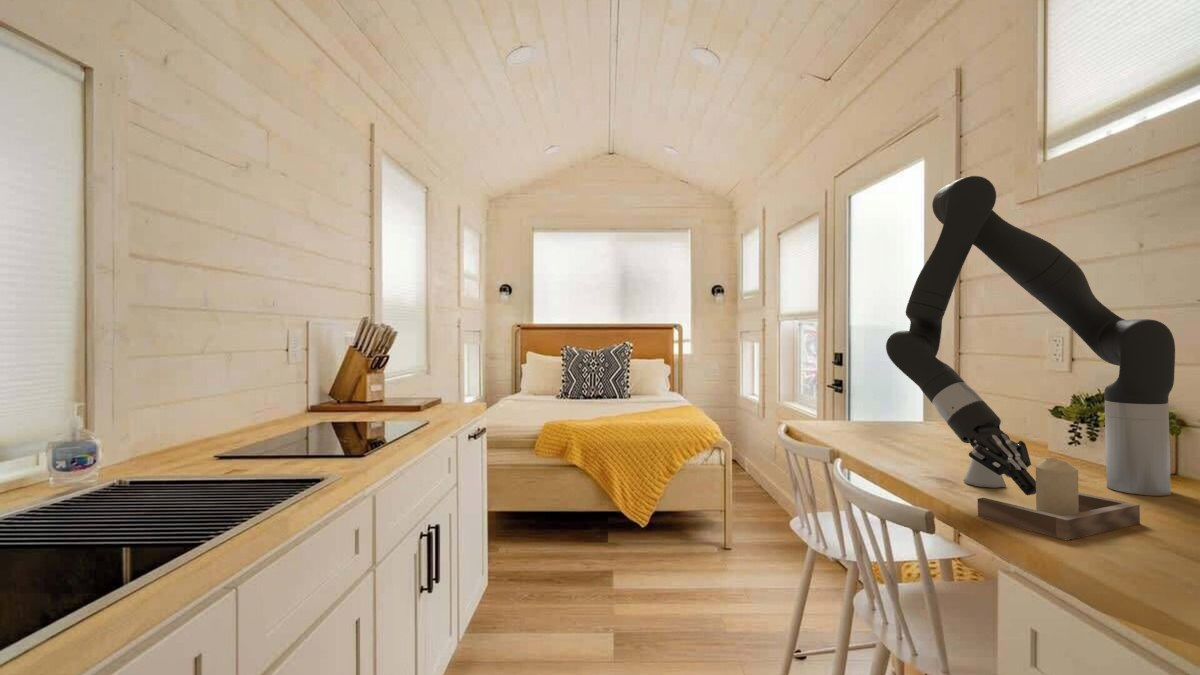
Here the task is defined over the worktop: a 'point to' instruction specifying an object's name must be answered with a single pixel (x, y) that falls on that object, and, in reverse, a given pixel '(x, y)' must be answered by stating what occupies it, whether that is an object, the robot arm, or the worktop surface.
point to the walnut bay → (1090, 520)
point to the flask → (983, 476)
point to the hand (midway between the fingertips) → (1034, 492)
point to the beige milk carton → (1056, 487)
